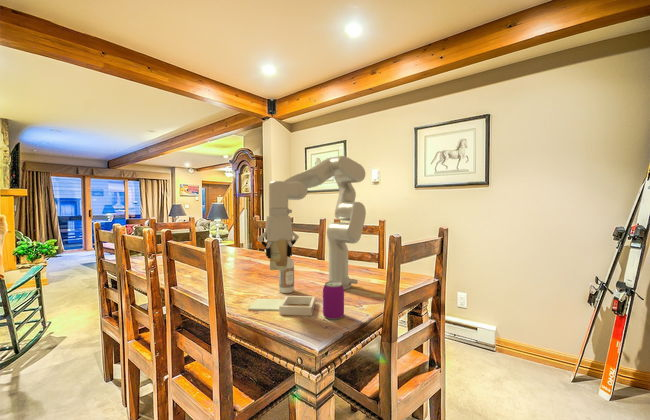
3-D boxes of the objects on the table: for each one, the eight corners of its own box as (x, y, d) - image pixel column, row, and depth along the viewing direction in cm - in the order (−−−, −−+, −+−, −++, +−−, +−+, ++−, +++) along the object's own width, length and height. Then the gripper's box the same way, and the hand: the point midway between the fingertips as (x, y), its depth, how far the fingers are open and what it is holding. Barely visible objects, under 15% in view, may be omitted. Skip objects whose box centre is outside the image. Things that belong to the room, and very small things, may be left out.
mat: (285, 300, 117) (285, 299, 117) (279, 310, 106) (278, 309, 106) (257, 299, 118) (257, 298, 118) (248, 309, 107) (248, 308, 107)
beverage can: (319, 318, 99) (319, 285, 99) (327, 310, 106) (327, 279, 106) (340, 322, 96) (340, 287, 96) (346, 313, 103) (346, 281, 103)
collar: (315, 303, 114) (315, 296, 114) (311, 315, 102) (311, 307, 102) (286, 302, 114) (286, 295, 114) (279, 314, 103) (279, 306, 102)
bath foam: (283, 294, 125) (282, 250, 124) (276, 290, 131) (276, 248, 130) (296, 291, 129) (296, 249, 128) (290, 288, 134) (289, 247, 134)
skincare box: (269, 270, 108) (269, 239, 108) (272, 267, 113) (272, 237, 112) (285, 270, 108) (285, 239, 107) (288, 268, 112) (288, 237, 112)
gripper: (297, 212, 116) (297, 254, 117) (254, 212, 110) (255, 257, 110) (302, 212, 109) (302, 257, 110) (257, 213, 103) (258, 260, 103)
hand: (278, 256), depth 110 cm, fingers closed on skincare box, 7 cm apart
